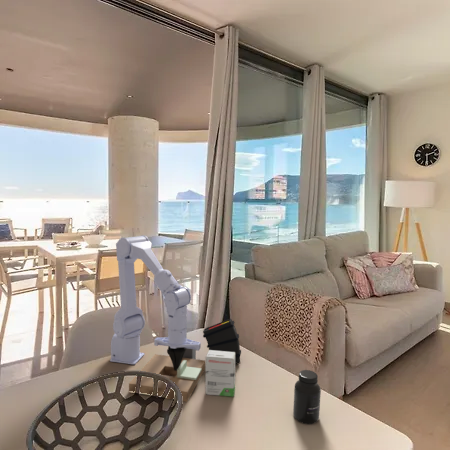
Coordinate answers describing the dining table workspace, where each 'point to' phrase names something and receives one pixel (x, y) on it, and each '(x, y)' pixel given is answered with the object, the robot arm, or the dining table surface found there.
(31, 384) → the dining table surface
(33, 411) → the dining table surface
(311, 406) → the supplement bottle
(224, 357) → the ink box
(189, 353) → the plug
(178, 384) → the socket board
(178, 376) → the pale green notched block
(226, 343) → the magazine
